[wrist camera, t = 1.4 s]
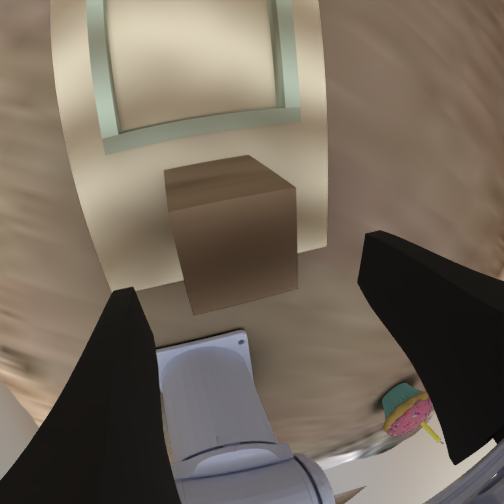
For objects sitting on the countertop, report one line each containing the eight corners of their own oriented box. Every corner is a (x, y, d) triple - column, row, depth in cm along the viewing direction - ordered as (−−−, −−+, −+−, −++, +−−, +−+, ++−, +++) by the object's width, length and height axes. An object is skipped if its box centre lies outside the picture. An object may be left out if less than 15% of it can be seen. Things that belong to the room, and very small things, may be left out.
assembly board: (319, 239, 21) (335, 254, 19) (114, 286, 18) (111, 308, 16) (305, -28, 12) (323, -39, 10) (55, -1, 9) (43, -12, 7)
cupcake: (423, 367, 39) (467, 421, 29) (402, 399, 43) (439, 450, 33) (382, 385, 36) (427, 450, 26) (362, 417, 40) (399, 475, 30)
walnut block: (255, 230, 18) (297, 288, 13) (179, 246, 17) (193, 315, 12) (248, 154, 16) (296, 187, 11) (163, 170, 15) (168, 212, 10)
